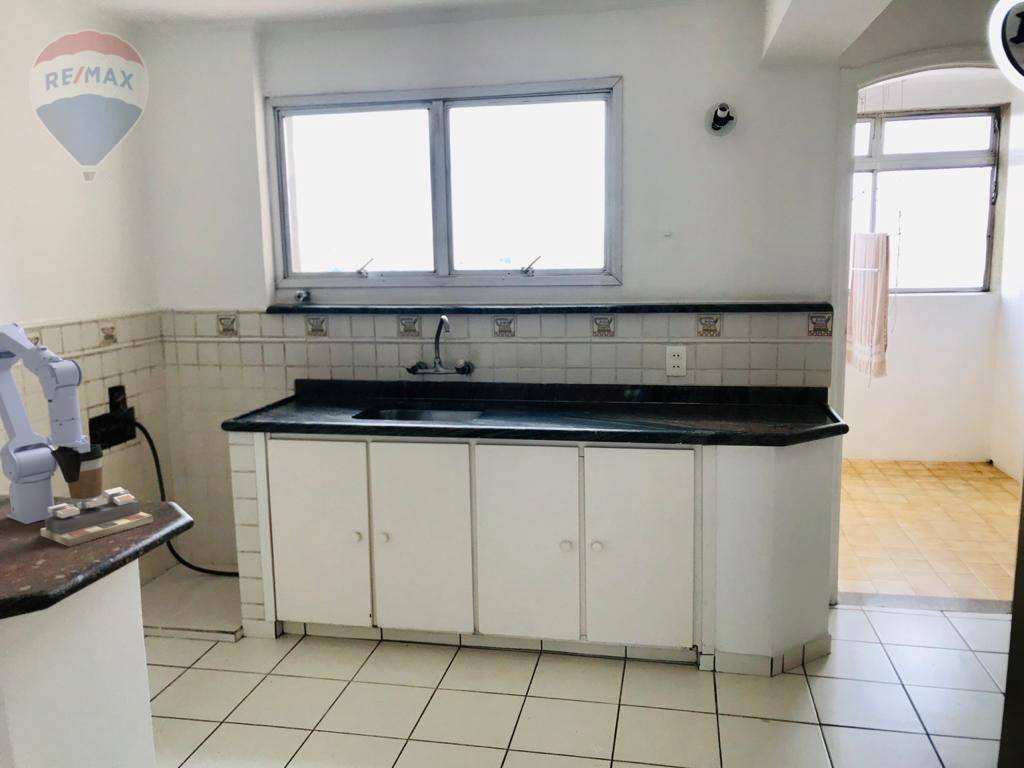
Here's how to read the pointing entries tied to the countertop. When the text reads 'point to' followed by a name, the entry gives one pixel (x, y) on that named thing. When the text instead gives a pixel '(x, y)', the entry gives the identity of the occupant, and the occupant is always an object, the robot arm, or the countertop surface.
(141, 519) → the switch unit
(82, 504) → the rocker middle
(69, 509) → the rocker end near
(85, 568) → the countertop surface
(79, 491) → the coffee cup
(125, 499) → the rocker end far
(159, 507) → the countertop surface
